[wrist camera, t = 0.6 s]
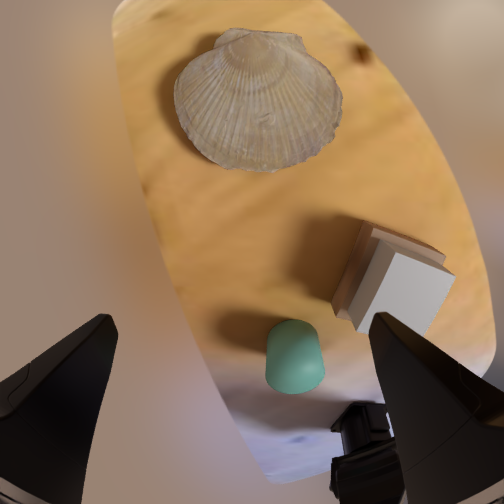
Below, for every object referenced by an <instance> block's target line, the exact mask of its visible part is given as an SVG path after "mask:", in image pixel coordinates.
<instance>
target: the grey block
mask: <svg viewBox="0 0 504 504" xmlns="http://www.w3.org/2000/svg"><path fill="white" fill-rule="evenodd" d="M455 278H456V276H455V275H453V274H452V273H451V272H450V271H448V270H447V269H446V268H445V267H443V266H442V265H441V264H439V263H438V262H436V261H433V260H431V259H429V258H426V257H424V256H422V255H419V254H417V253H414V252H412V251H409V250H407V249H404V248H402V247H399V246H397V245H394V244H392V243H389V242H387V241H384V240H382V239H380V241H379V243H378V245H377V248H376V250H375V253H374V255H373V257H372V260H371V262H370V264H369V266H368V269H367V271H366V273H365V275H364V277H363V280H362V282H361V284H360V286H359V288H358V290H357V292H356V294H355V296H354V298H353V300H352V302H351V304H350V306H349V308H348V310H347V311H348V313H349V316H350V318H351V320H352V323H353V325H354V328H355V330H356V332H361V333H365V334H369V328H370V325H371V322H372V319H373V316H374V314H375V313H376V312H384V311H385V312H388V313H389V314H391V315H392V316H394V317H395V318H397V319H398V320H399V321H401V322H402V323H404V324H405V325H407V326H408V327H410V328H411V329H412V330H414V331H415V332H417V333H418V334H420V335H421V336H422V337H423V336H424V334H425V333H426V331H427V329H428V328H429V326H430V324H431V323H432V321H433V319H434V318H435V316H436V314H437V312H438V311H439V309H440V307H441V305H442V303H443V301H444V300H445V298H446V296H447V294H448V292H449V290H450V288H451V286H452V284H453V282H454V280H455Z"/></svg>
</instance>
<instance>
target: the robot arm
mask: <svg viewBox="0 0 504 504" xmlns="http://www.w3.org/2000/svg"><path fill="white" fill-rule="evenodd" d="M117 340H118V331H117V329H116V326H115V324H114V321H113V319H112V316H111V315H109V314H98V315H97V316H95V317H94V318H93V319H91V320H90V321H88V322H87V323H85V324H84V325H82V326H81V327H79V328H78V329H76V330H75V331H73V332H72V333H71V334H69V335H68V336H66V337H65V338H63V339H62V340H61V341H59V342H58V343H56V344H55V345H53V346H52V347H51V348H49V349H48V350H46V351H45V352H43V353H42V354H41V355H39V356H38V357H36V358H35V359H34V360H32V361H31V363H28V364H27V365H26V366H24V367H22V368H21V369H20V370H18V371H17V372H15V373H14V374H12V375H11V376H9V377H8V378H6V379H5V380H3V381H2V382H0V504H81V501H82V494H83V486H84V481H85V475H86V468H87V463H88V458H89V453H90V448H91V444H92V439H93V435H94V431H95V427H96V423H97V418H98V415H99V411H100V407H101V403H102V400H103V397H104V393H105V389H106V386H107V383H108V380H109V376H110V372H111V368H112V363H113V359H114V353H115V349H116V345H117ZM369 340H370V345H371V349H372V354H373V359H374V364H375V369H376V373H377V377H378V380H379V383H380V387H381V390H382V393H383V397H384V400H385V403H386V405H381V404H362V403H352V404H350V405H349V407H348V408H347V409H346V410H345V412H344V413H343V414H342V415H341V417H340V418H339V419H338V420H337V421H336V423H335V424H334V425H333V426H332V427H331V432H338V433H341V438H342V444H343V450H344V455H343V456H340V457H334V458H332V463H331V482H330V486H329V488H330V491H332V492H334V495H335V497H336V498H337V499H339V501H340V504H403V501H404V499H405V496H406V494H407V500H408V504H504V392H503V391H501V390H499V389H498V388H496V387H495V386H493V385H491V384H489V383H488V382H486V381H485V380H483V379H482V378H480V377H479V376H477V375H476V374H474V373H473V372H471V371H470V370H468V369H467V368H466V367H464V366H463V365H462V364H460V363H459V364H458V362H457V361H456V360H455V359H453V358H452V357H450V356H449V355H448V354H446V353H445V352H443V351H442V350H441V349H439V348H438V347H437V346H435V345H434V344H432V343H431V342H429V341H428V340H427V339H425V338H424V337H422V336H421V335H420V334H418V333H417V332H415V331H414V330H412V329H411V328H410V327H408V326H407V325H405V324H404V323H402V322H401V321H399V320H398V319H397V318H395V317H394V316H392V315H391V314H389V313H388V312H385V311H384V312H376V313H375V314H374V316H373V319H372V322H371V325H370V328H369ZM387 412H388V414H389V418H390V421H391V425H392V429H393V433H394V437H391V434H390V431H389V429H390V426H389V423H388V420H387V417H386V413H387Z"/></svg>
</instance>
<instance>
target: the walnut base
mask: <svg viewBox="0 0 504 504" xmlns="http://www.w3.org/2000/svg"><path fill="white" fill-rule="evenodd" d="M380 239H382V240H384V241H387V242H389V243H392V244H394V245H397V246H399V247H402V248H404V249H407V250H409V251H412V252H414V253H417V254H419V255H422V256H424V257H426V258H429V259H431V260H433V261H436V262H438V263H439V264H441V265H443V263H444V260H445V258H446V256H445V255H444V254H443V253H441V252H440V251H438V250H437V249H435V248H434V247H432V246H429V245H427V244H425V243H422V242H420V241H417V240H415V239H412V238H410V237H407V236H405V235H402V234H399V233H397V232H394V231H392V230H389V229H386V228H384V227H381V226H378V225H375V224H373V223H370V222H367V221H364V220H363V223H362V226H361V229H360V231H359V234H358V237H357V240H356V242H355V245H354V247H353V250H352V253H351V255H350V258H349V260H348V263H347V265H346V268H345V270H344V273H343V275H342V278H341V280H340V282H339V285H338V287H337V289H336V292H335V294H334V296H333V299H332V301H331V305H332V308H333V310H334V313H335V316H336V318H341V319H345V320H349V321H352V320H351V318H350V316H349V313H348V311H347V310H348V308H349V306H350V304H351V302H352V300H353V298H354V296H355V294H356V292H357V290H358V288H359V286H360V284H361V282H362V280H363V277H364V275H365V273H366V271H367V269H368V266H369V264H370V262H371V260H372V257H373V255H374V253H375V250H376V248H377V245H378V243H379V241H380Z"/></svg>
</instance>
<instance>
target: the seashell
mask: <svg viewBox="0 0 504 504" xmlns="http://www.w3.org/2000/svg"><path fill="white" fill-rule="evenodd" d="M342 99H343V96H342V92H341V90H340V88H339V86H338V85H337V83H336V81H335V78H334V77H333V76H332V75H331V73H330V71H329V70H328V69H327V68H326V67H325V66H324V65H323V64H322V63H321V62H319V61H318V60H316V59H315V58H313V57H312V56H310V55H309V54H308V53H307V52H306V48H305V47H304V44H303V42H302V37H300V36H298V35H297V34H292V33H282V32H268V31H255V30H249V29H244V28H230V29H229V30H226V31H225V32H224V34H223V35H221V36H220V37H219V38H218V39H216V41H215V44H214V49H212V50H210V51H207V52H205V53H203V54H201V55H199V56H198V57H196V58H195V59H193V60H192V61H191V62H190V63H189V64H188V65H187V66H186V67H185V68H184V69H183V70H182V72H181V73H179V75H178V77H177V80H176V82H175V85H174V103H175V109H176V113H177V116H178V119H179V122H180V125H181V127H182V129H183V130H184V131H185V133H186V135H187V137H188V139H190V140H191V141H192V142H193V144H194V146H195V148H196V149H198V150H199V151H200V153H201V154H203V155H204V156H205V157H206V158H208V159H209V160H211V161H213V162H215V163H217V164H218V165H220V166H221V167H223V168H225V169H228V170H233V169H243V170H246V171H255V172H262V171H267V172H271V173H274V172H275V171H277V170H278V169H282V168H286V167H290V166H291V165H296V164H298V163H300V162H306V160H307V159H308V158H309V157H312V156H316V155H317V154H318V153H319V152H320V151H321V149H322V147H323V146H325V145H326V144H327V143H331V141H332V140H333V139H334V137H335V130H336V128H337V127H338V126H339V124H340V121H341V118H342V108H341V106H342Z"/></svg>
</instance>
